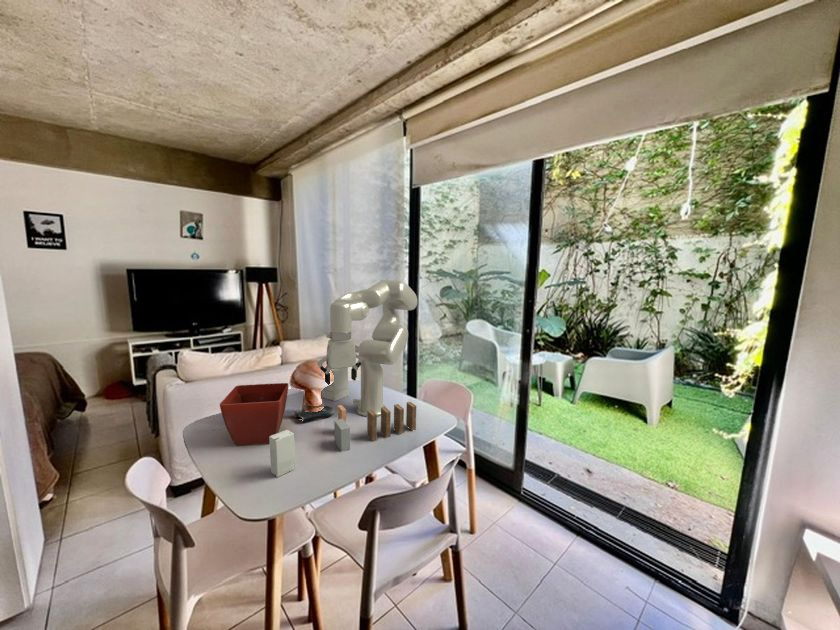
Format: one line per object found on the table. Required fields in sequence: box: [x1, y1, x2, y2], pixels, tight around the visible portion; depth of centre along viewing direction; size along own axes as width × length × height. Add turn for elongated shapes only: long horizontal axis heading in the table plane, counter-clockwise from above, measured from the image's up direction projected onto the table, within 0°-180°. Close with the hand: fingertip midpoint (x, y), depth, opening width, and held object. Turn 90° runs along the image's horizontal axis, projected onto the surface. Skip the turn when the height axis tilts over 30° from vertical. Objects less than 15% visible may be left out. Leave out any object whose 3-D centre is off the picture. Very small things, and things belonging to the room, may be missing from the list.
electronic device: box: [294, 405, 335, 424], centre depth 144 cm, size 9×6×15 cm
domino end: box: [337, 404, 347, 423], centre depth 131 cm, size 2×5×10 cm, turn 31°
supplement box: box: [321, 367, 349, 402], centre depth 165 cm, size 9×9×15 cm
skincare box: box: [269, 429, 296, 478], centre depth 106 cm, size 6×4×12 cm
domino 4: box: [405, 401, 417, 432], centre depth 135 cm, size 2×5×10 cm, turn 31°
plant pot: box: [219, 382, 289, 447], centre depth 126 cm, size 19×19×17 cm
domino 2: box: [380, 407, 391, 439], centre depth 130 cm, size 2×5×10 cm, turn 30°
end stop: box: [333, 418, 351, 453], centre depth 122 cm, size 3×8×8 cm, turn 30°
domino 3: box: [393, 403, 405, 435], centre depth 133 cm, size 2×5×10 cm, turn 30°
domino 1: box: [366, 409, 378, 442], centre depth 127 cm, size 2×5×10 cm, turn 30°
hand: (341, 381), depth 128 cm, fingers open, 9 cm apart
